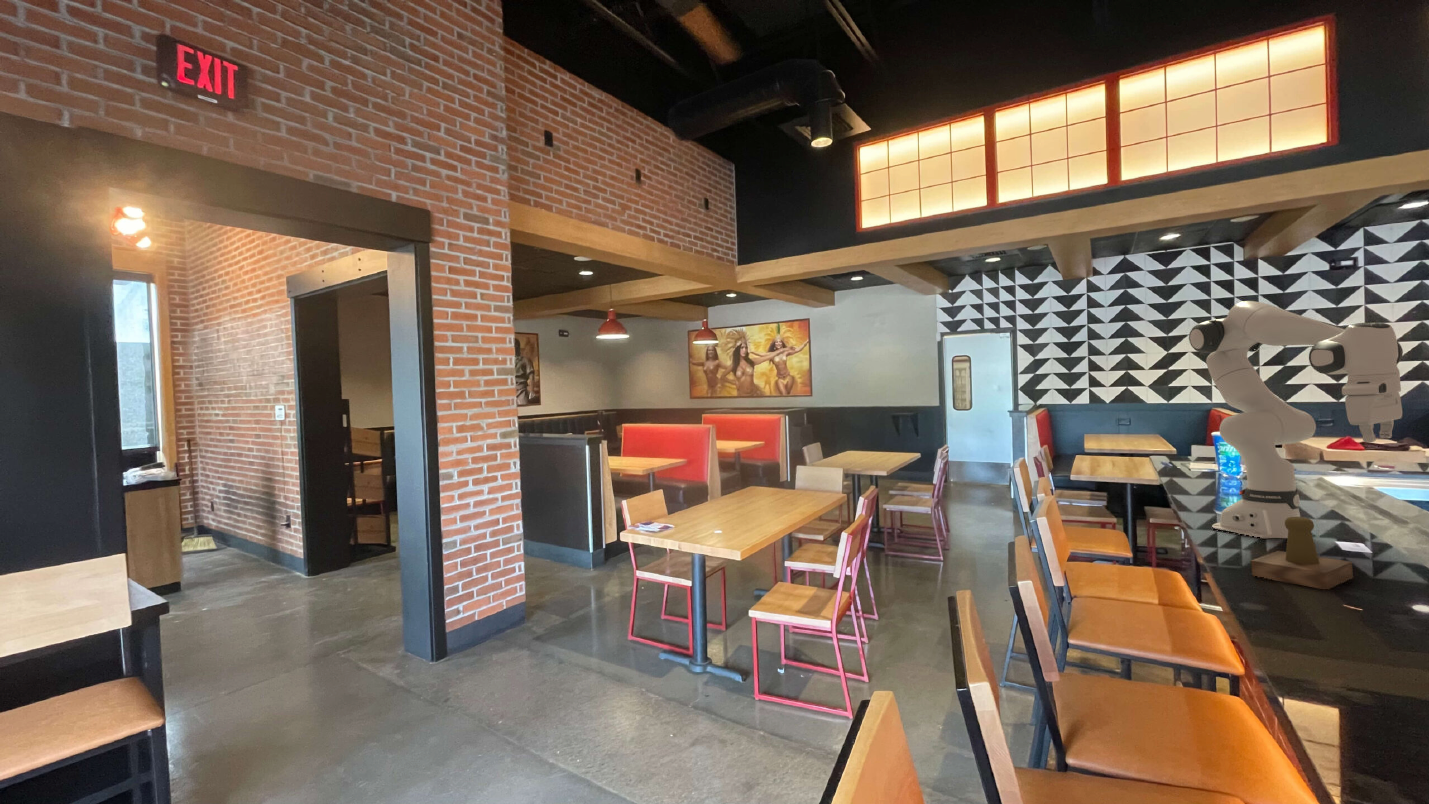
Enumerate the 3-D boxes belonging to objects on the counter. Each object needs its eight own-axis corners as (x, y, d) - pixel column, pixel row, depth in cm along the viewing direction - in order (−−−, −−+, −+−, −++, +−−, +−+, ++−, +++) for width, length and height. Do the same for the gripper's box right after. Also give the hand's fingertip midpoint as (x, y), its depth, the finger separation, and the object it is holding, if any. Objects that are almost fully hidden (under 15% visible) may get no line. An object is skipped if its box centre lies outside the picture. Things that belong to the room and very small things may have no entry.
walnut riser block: (1252, 575, 150) (1251, 560, 150) (1279, 565, 156) (1277, 550, 156) (1326, 589, 138) (1325, 572, 138) (1353, 578, 144) (1351, 561, 144)
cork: (1304, 557, 150) (1300, 514, 150) (1326, 563, 144) (1322, 519, 144) (1278, 558, 150) (1275, 515, 150) (1299, 565, 144) (1296, 520, 144)
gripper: (1374, 383, 156) (1377, 435, 156) (1338, 389, 148) (1342, 443, 148) (1409, 382, 150) (1413, 436, 150) (1374, 387, 142) (1378, 444, 142)
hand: (1377, 440), depth 149 cm, fingers open, 8 cm apart
